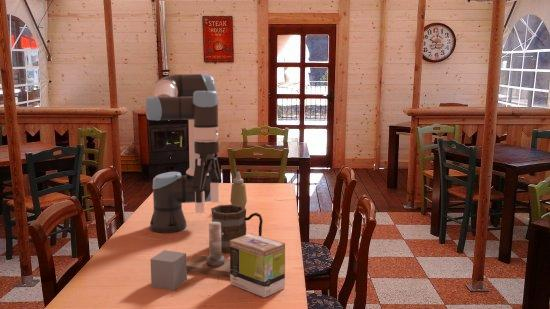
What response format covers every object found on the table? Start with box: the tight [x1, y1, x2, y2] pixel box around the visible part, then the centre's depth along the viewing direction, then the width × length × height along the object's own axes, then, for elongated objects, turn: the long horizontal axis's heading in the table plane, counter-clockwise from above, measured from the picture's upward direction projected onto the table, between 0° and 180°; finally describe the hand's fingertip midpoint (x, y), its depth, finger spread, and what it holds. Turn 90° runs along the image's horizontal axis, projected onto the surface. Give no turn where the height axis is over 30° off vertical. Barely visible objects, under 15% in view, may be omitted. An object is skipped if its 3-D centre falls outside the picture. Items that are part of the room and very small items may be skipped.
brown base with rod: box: [186, 221, 230, 279], centre depth 167 cm, size 20×10×16 cm, turn 72°
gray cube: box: [149, 250, 188, 291], centre depth 156 cm, size 8×8×9 cm
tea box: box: [229, 233, 286, 299], centre depth 154 cm, size 15×10×15 cm
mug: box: [210, 203, 264, 255], centre depth 187 cm, size 20×14×15 cm
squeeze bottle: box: [230, 171, 248, 208], centre depth 240 cm, size 8×8×18 cm
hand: (207, 207), depth 158 cm, fingers open, 13 cm apart
